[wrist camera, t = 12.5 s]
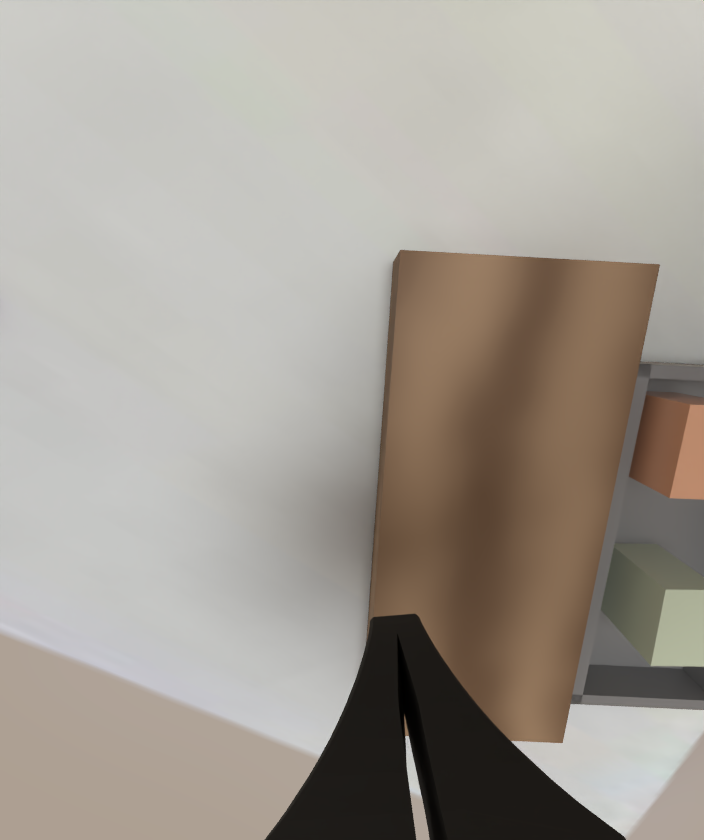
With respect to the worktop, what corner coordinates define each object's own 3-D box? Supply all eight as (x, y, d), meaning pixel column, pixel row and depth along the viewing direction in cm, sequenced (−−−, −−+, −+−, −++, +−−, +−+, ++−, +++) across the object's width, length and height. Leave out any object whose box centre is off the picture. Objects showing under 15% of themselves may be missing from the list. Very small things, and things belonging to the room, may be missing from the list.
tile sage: (610, 543, 22) (656, 544, 22) (599, 608, 23) (644, 608, 23) (665, 589, 18) (722, 590, 18) (650, 666, 19) (704, 666, 19)
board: (613, 274, 19) (659, 264, 16) (537, 693, 25) (562, 743, 22) (393, 262, 19) (400, 250, 16) (363, 685, 24) (364, 733, 22)
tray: (767, 368, 20) (824, 373, 18) (685, 672, 24) (722, 710, 22) (604, 359, 20) (638, 363, 18) (547, 665, 24) (569, 703, 22)
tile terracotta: (625, 390, 20) (675, 392, 20) (610, 467, 21) (659, 468, 21) (690, 404, 16) (752, 407, 16) (669, 498, 17) (728, 500, 17)
